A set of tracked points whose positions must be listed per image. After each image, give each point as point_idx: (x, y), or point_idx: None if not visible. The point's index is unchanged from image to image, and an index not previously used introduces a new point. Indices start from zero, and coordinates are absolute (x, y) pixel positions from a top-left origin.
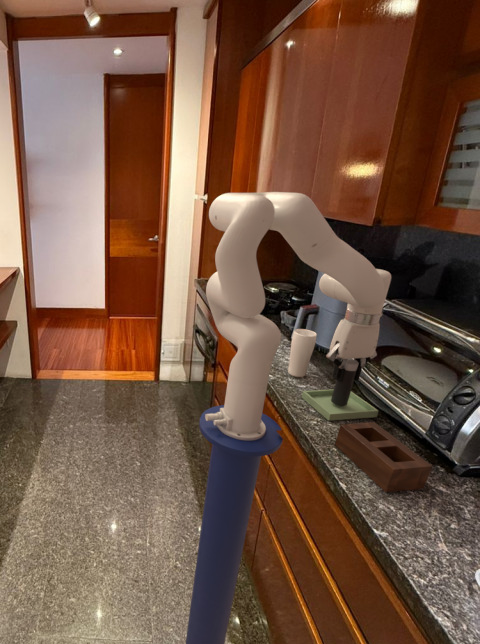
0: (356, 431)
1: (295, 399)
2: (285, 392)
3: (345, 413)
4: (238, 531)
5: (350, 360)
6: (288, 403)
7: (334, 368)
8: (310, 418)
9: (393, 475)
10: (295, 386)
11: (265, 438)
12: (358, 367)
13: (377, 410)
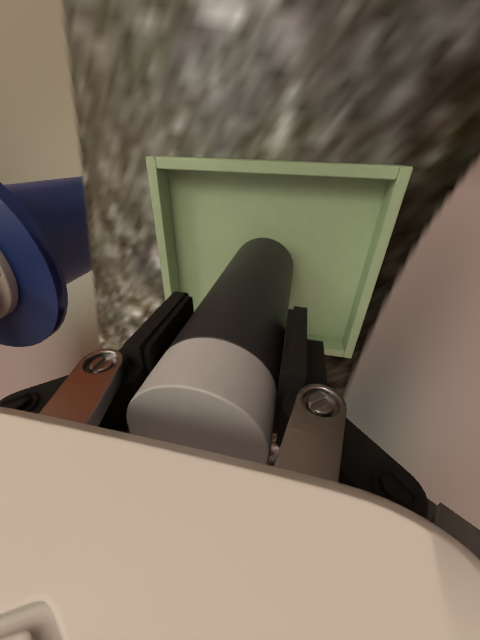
0: None
1: (129, 170)
2: (106, 89)
3: None
4: None
5: (211, 434)
6: (93, 196)
7: (123, 346)
8: (133, 295)
9: None
10: (184, 9)
11: (18, 317)
12: (278, 429)
13: (347, 357)
